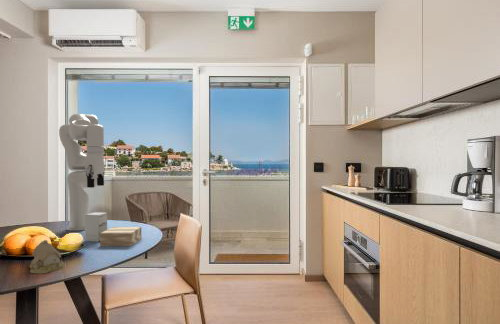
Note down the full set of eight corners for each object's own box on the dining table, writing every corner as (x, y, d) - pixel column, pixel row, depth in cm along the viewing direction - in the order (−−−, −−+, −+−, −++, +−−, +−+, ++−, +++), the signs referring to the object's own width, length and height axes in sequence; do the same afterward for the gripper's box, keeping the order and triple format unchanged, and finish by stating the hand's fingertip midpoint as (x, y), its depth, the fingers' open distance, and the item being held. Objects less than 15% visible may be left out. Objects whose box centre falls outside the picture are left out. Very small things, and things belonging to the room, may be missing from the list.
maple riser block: (112, 239, 172) (112, 226, 172) (141, 239, 172) (141, 226, 172) (100, 246, 158) (100, 233, 158) (131, 246, 158) (131, 233, 158)
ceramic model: (69, 268, 128) (69, 240, 128) (35, 276, 119) (34, 247, 119) (54, 260, 137) (54, 234, 137) (21, 267, 129) (21, 240, 128)
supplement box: (98, 241, 165) (98, 215, 165) (84, 241, 167) (84, 214, 166) (107, 238, 172) (107, 212, 172) (94, 237, 174) (94, 211, 173)
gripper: (96, 150, 177) (96, 184, 177) (78, 150, 160) (78, 188, 160) (110, 150, 177) (111, 184, 177) (94, 150, 159) (94, 188, 160)
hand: (95, 186), depth 169 cm, fingers open, 9 cm apart
